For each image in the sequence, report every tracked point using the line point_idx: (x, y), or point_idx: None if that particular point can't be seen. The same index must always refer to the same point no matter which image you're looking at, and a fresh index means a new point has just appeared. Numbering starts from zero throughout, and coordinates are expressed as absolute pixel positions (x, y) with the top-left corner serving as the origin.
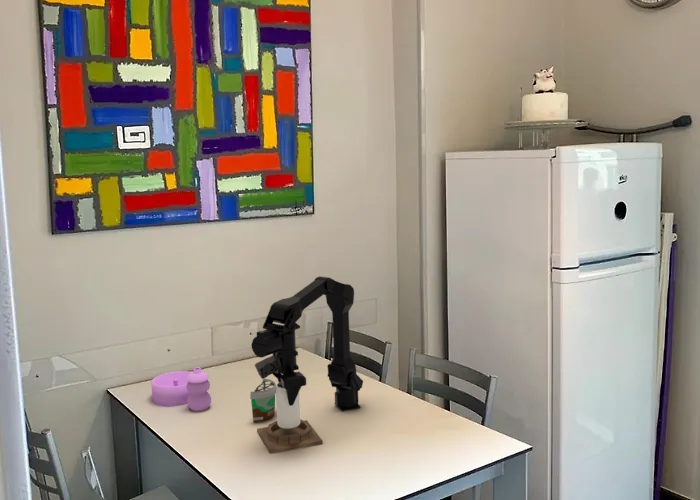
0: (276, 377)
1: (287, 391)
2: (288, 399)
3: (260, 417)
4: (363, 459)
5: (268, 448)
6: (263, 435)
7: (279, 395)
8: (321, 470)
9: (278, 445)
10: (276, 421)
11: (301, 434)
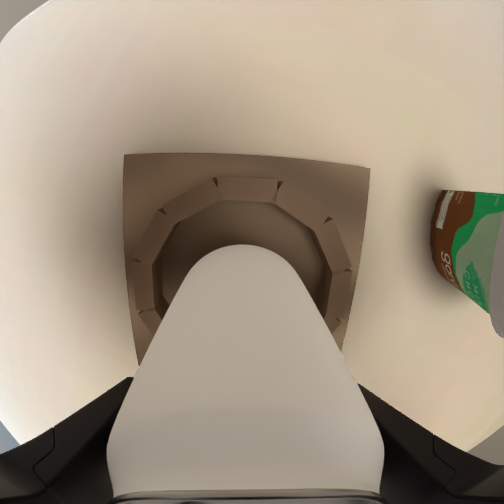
0: (479, 499)
1: (5, 456)
2: (85, 406)
3: (443, 219)
4: (45, 388)
5: (141, 154)
6: (285, 168)
7: (157, 385)
8: (3, 282)
9: (149, 202)
10: (345, 260)
11: (144, 318)
